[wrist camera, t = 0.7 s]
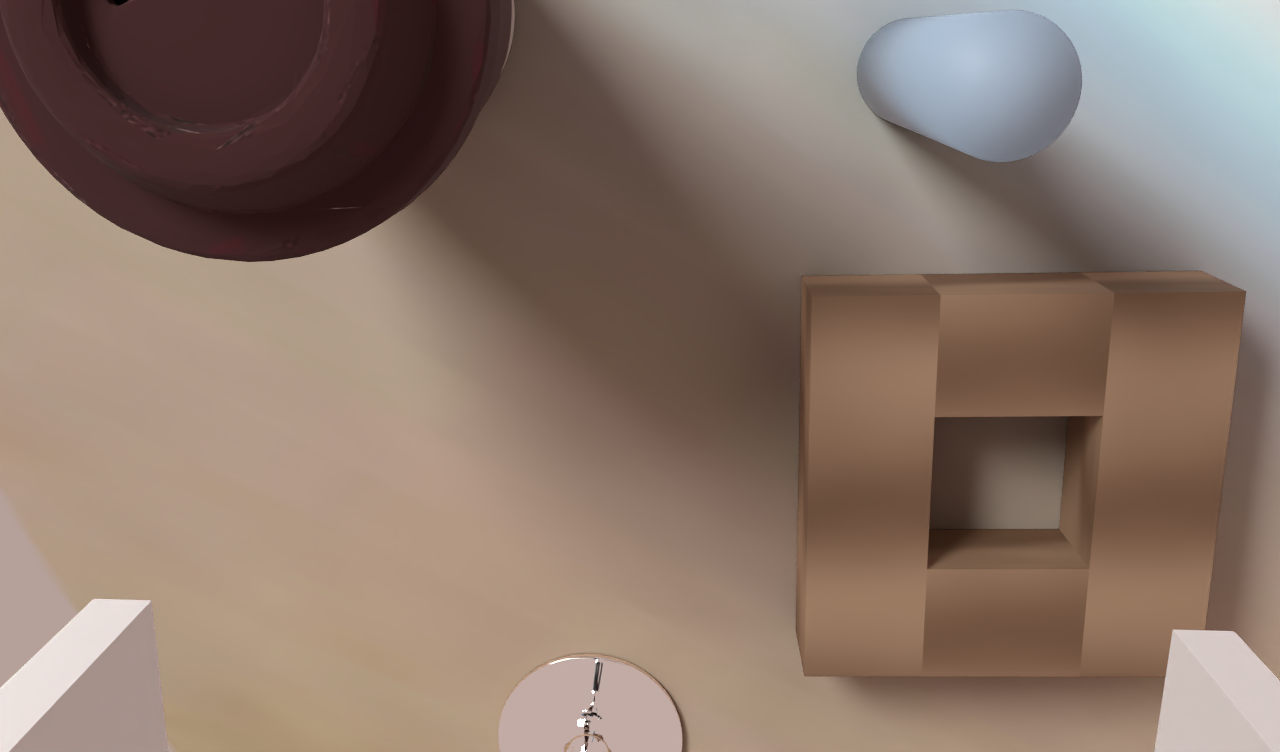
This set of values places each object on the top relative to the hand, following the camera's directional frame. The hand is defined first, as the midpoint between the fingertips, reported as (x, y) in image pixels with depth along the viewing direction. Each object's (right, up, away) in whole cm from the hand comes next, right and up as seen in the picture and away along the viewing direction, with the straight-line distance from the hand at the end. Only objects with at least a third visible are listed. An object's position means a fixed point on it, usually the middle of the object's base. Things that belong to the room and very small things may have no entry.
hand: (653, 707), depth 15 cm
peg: (+8, +13, +19) cm, 25 cm away
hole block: (+11, +2, +22) cm, 25 cm away
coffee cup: (-7, +15, +20) cm, 26 cm away
